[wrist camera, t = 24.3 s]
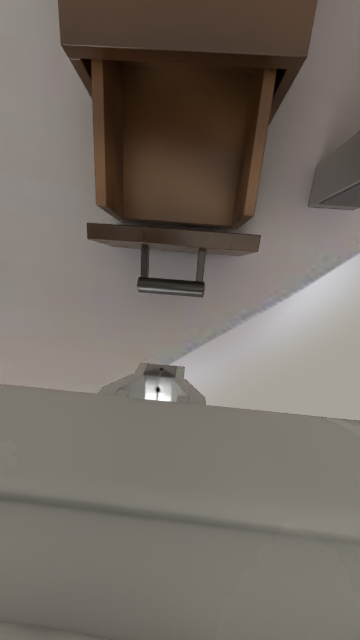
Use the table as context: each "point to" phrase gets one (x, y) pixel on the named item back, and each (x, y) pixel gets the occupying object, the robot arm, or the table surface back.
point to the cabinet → (190, 34)
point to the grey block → (338, 178)
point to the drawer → (178, 158)
